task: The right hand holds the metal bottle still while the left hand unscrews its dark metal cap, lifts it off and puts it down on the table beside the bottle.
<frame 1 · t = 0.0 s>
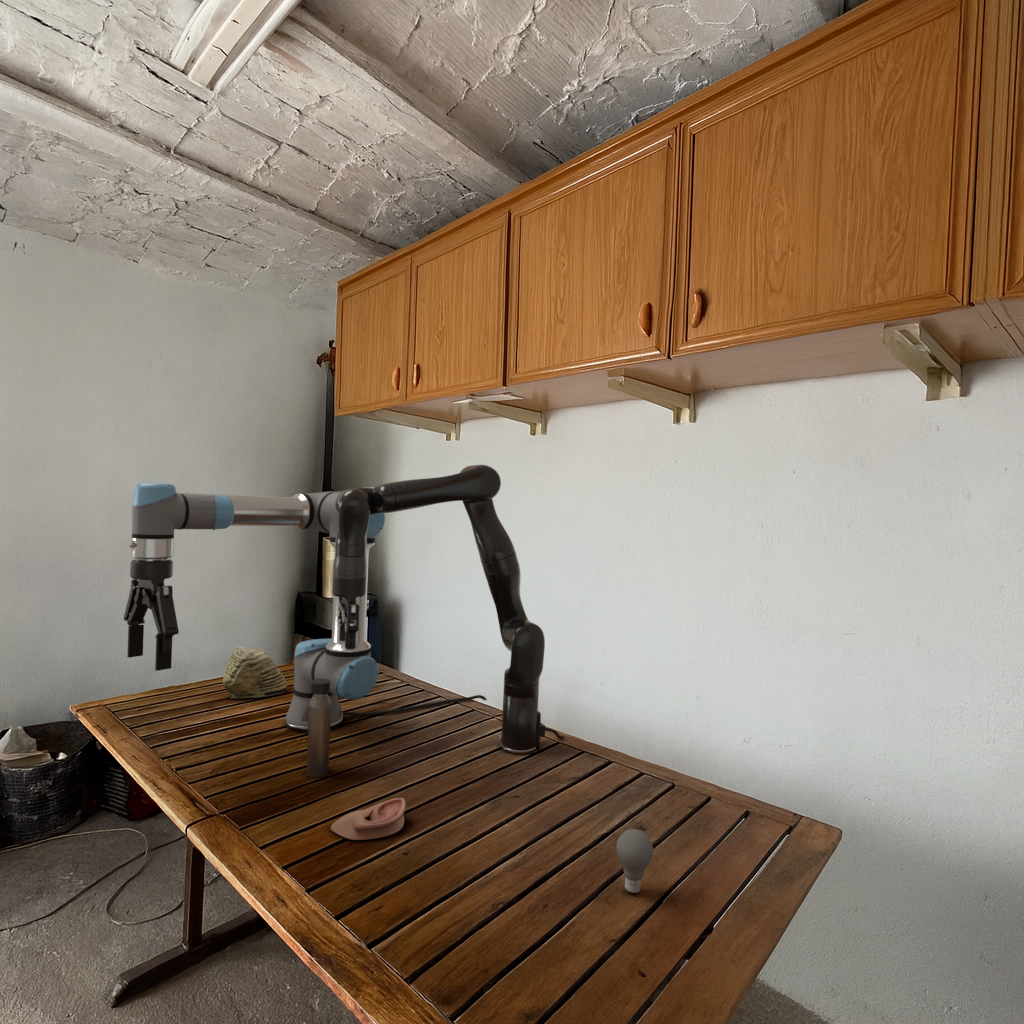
left hand: (148, 662, 129), 28 cm above the table, tool pointing down, fingers open, 13 cm apart
right hand: (347, 644, 147), 29 cm above the table, tool pointing down, fingers open, 8 cm apart
cap: (321, 682, 145), point 21 cm above the table, screwed on, not yet turned
bottle: (317, 772, 145), on the table
fossil: (254, 694, 198), on the table
anatomical model: (368, 826, 123), on the table
light bulb: (632, 891, 106), on the table
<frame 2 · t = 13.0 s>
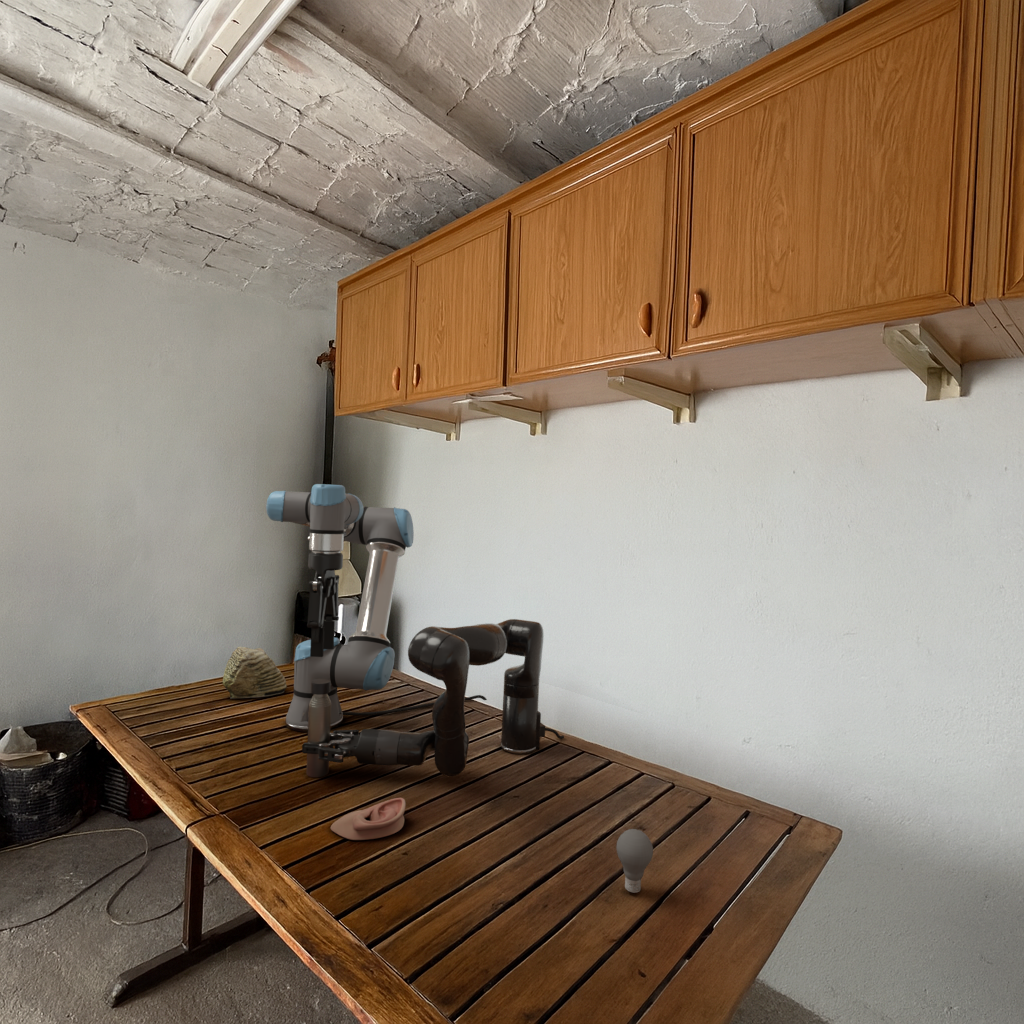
left hand: (322, 652, 145), 28 cm above the table, tool pointing down, fingers open, 6 cm apart
right hand: (307, 743, 145), 7 cm above the table, tool horizontal, fingers closed on bottle, 5 cm apart
bottle: (317, 772, 145), on the table, touching right hand
everything else where it was.
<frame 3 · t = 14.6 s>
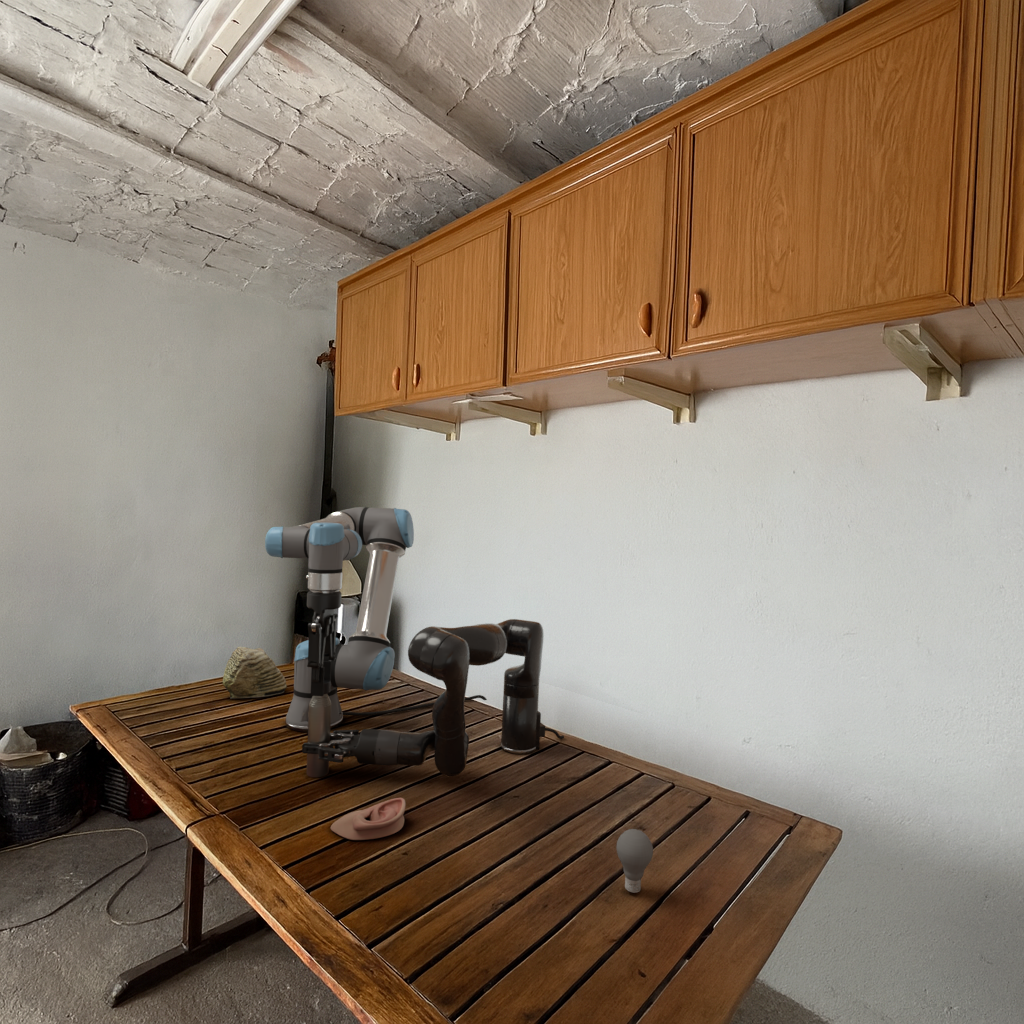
left hand: (320, 692, 145), 19 cm above the table, tool pointing down, fingers closed on cap, 4 cm apart
right hand: (307, 743, 145), 7 cm above the table, tool horizontal, fingers closed on bottle, 5 cm apart
cap: (321, 682, 145), point 21 cm above the table, screwed on, not yet turned, touching left hand
bottle: (317, 772, 145), on the table, touching right hand
everything else where it was.
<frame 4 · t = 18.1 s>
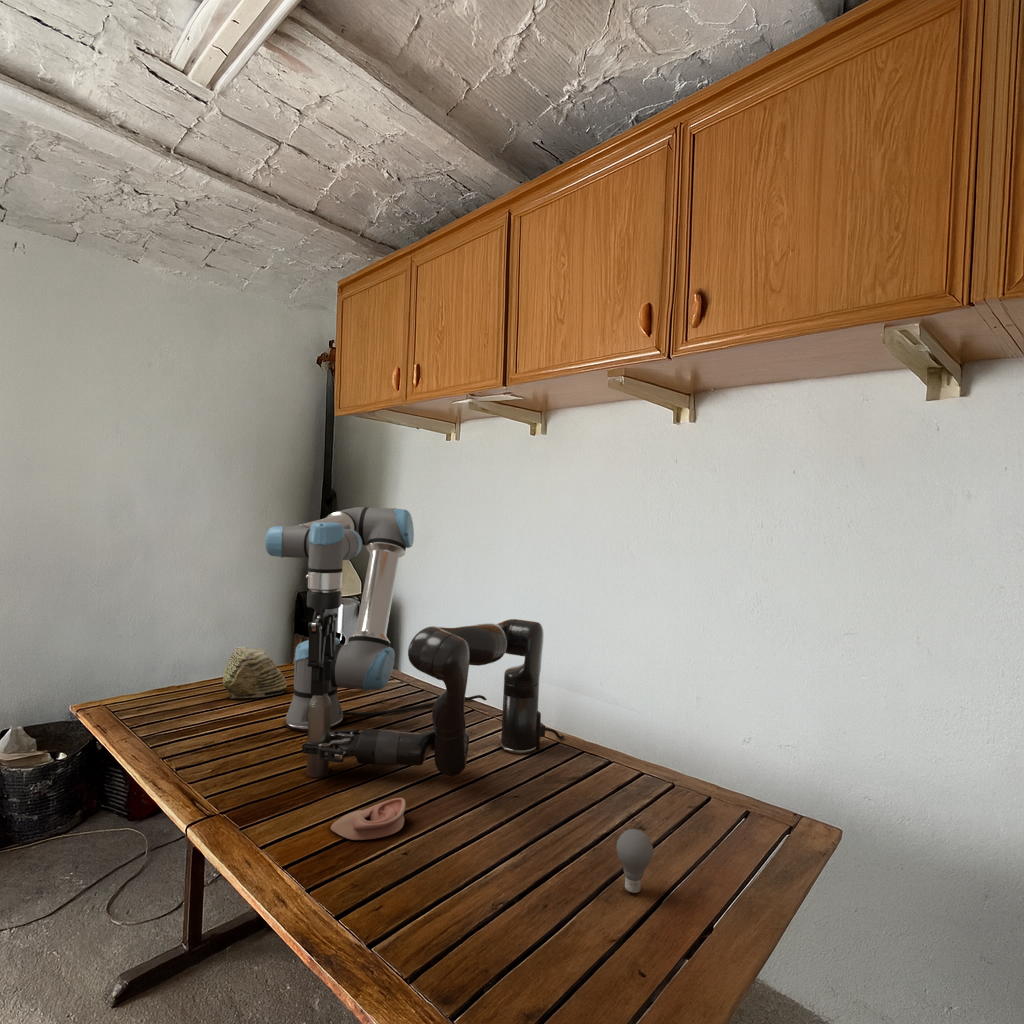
left hand: (320, 691, 145), 19 cm above the table, tool pointing down, fingers closed on cap, 4 cm apart
right hand: (307, 743, 145), 7 cm above the table, tool horizontal, fingers closed on bottle, 5 cm apart
cap: (321, 681, 145), point 21 cm above the table, turned 109° so far, risen 0.1 cm, still on its thread, touching left hand
bottle: (317, 772, 145), on the table, touching right hand
everything else where it was.
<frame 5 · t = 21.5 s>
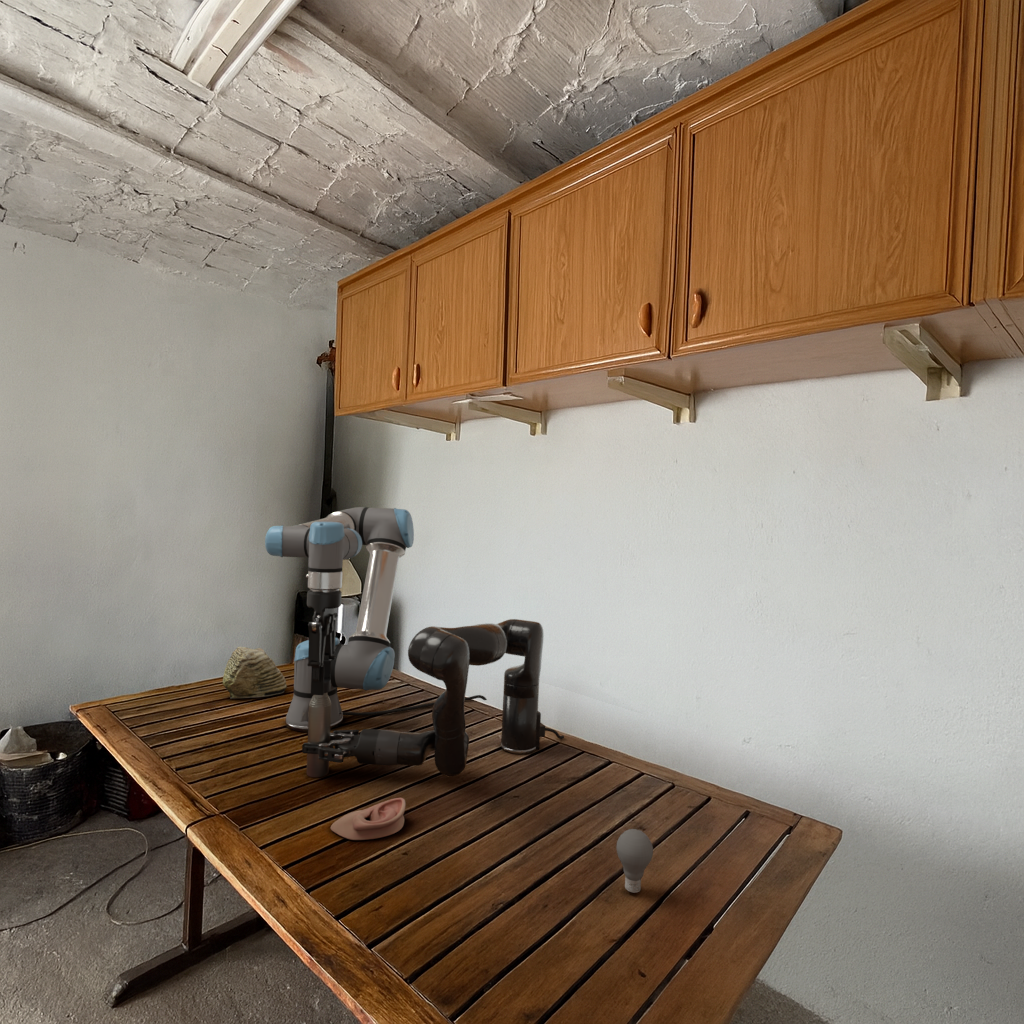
left hand: (320, 691, 145), 19 cm above the table, tool pointing down, fingers closed on cap, 4 cm apart
right hand: (307, 743, 145), 7 cm above the table, tool horizontal, fingers closed on bottle, 5 cm apart
cap: (321, 681, 145), point 21 cm above the table, turned 218° so far, risen 0.2 cm, still on its thread, touching left hand
bottle: (317, 772, 145), on the table, touching right hand
everything else where it was.
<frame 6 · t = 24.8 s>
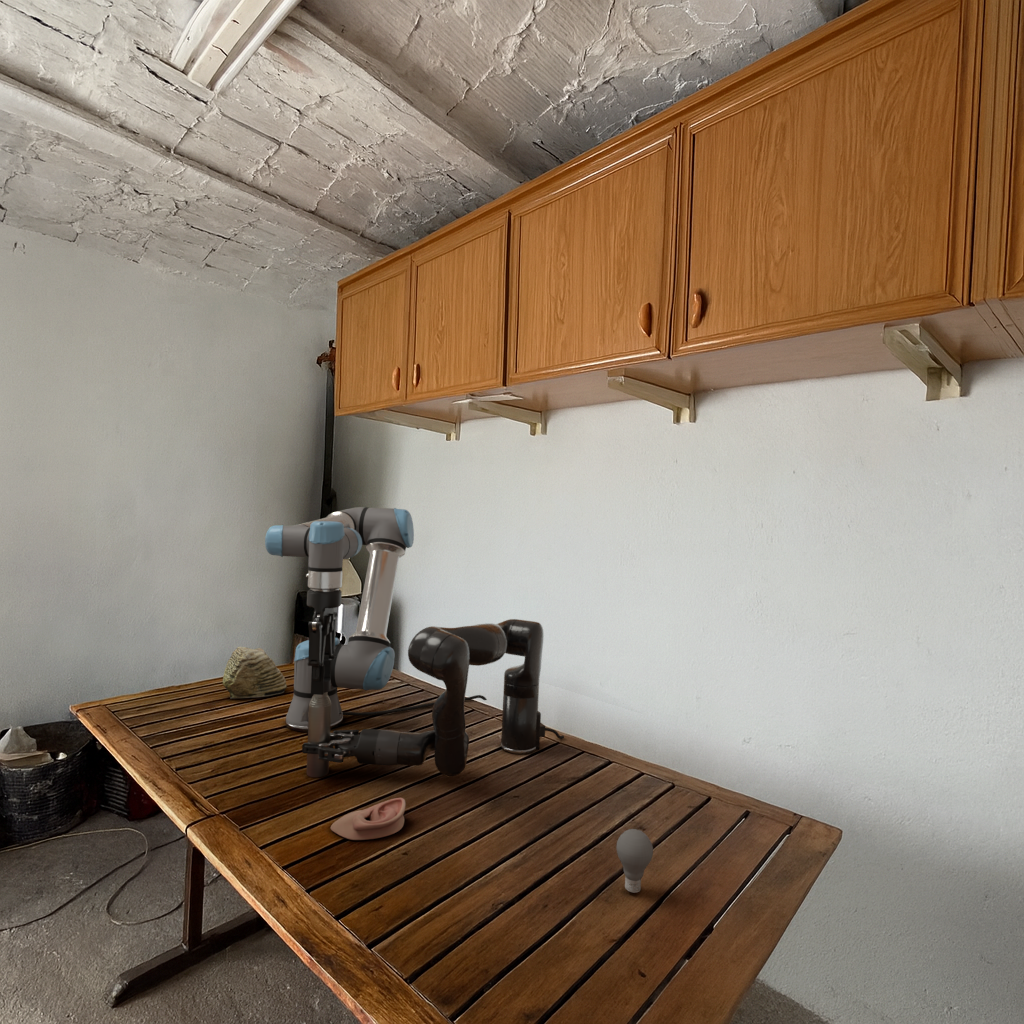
left hand: (320, 690, 145), 19 cm above the table, tool pointing down, fingers closed on cap, 4 cm apart
right hand: (307, 743, 145), 7 cm above the table, tool horizontal, fingers closed on bottle, 5 cm apart
cap: (321, 680, 145), point 21 cm above the table, turned 327° so far, risen 0.3 cm, still on its thread, touching left hand
bottle: (317, 772, 145), on the table, touching right hand
everything else where it was.
when the left hand's fingers open (1 cm above the table, at t = 32.1 s): cap drops 1 cm, point 2 cm above the table.
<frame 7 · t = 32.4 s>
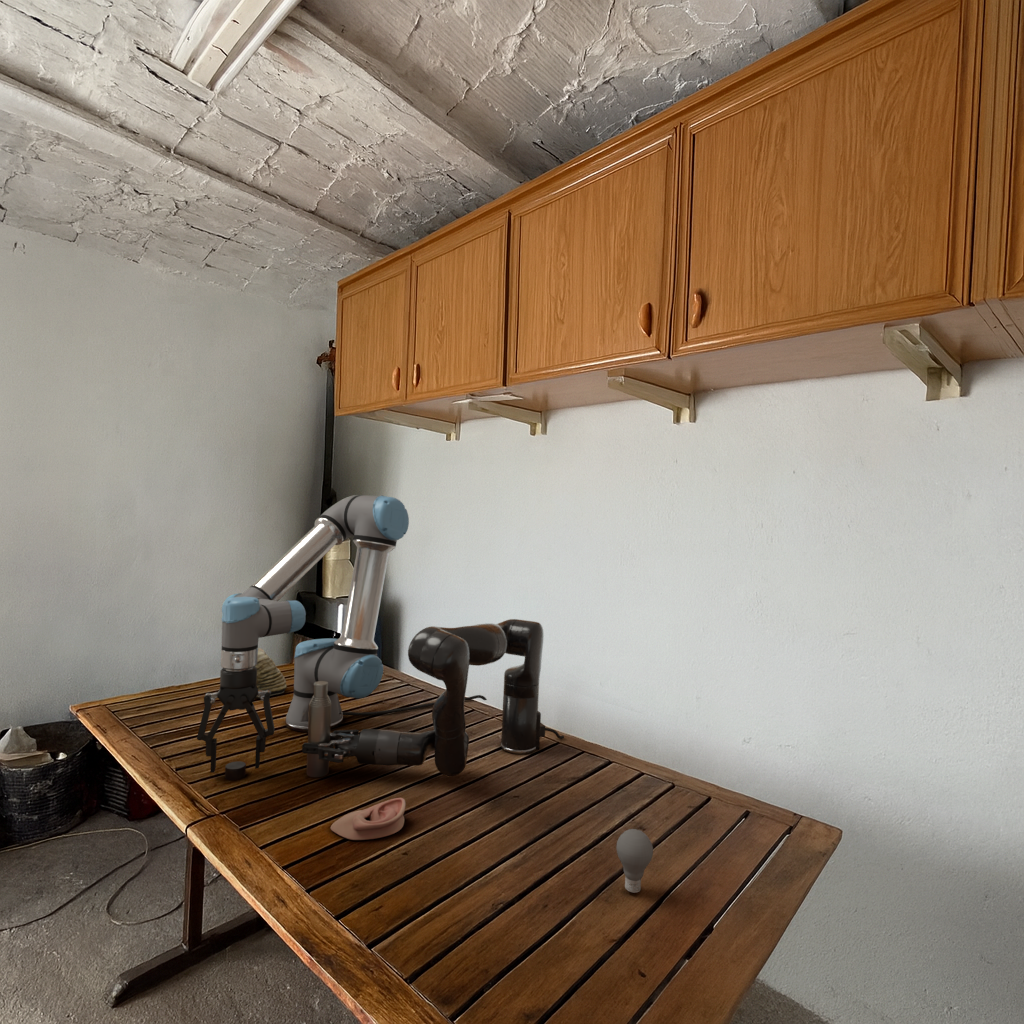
left hand: (235, 767, 142), 2 cm above the table, tool pointing down, fingers open, 8 cm apart
right hand: (307, 743, 145), 7 cm above the table, tool horizontal, fingers closed on bottle, 5 cm apart
cap: (235, 766, 142), point 2 cm above the table, off its thread
bottle: (317, 772, 145), on the table, touching right hand
everything else where it was.
when the right hand's fingers open (7 cm above the table, at t = 33.4 s): bottle stays where it is, on the table.
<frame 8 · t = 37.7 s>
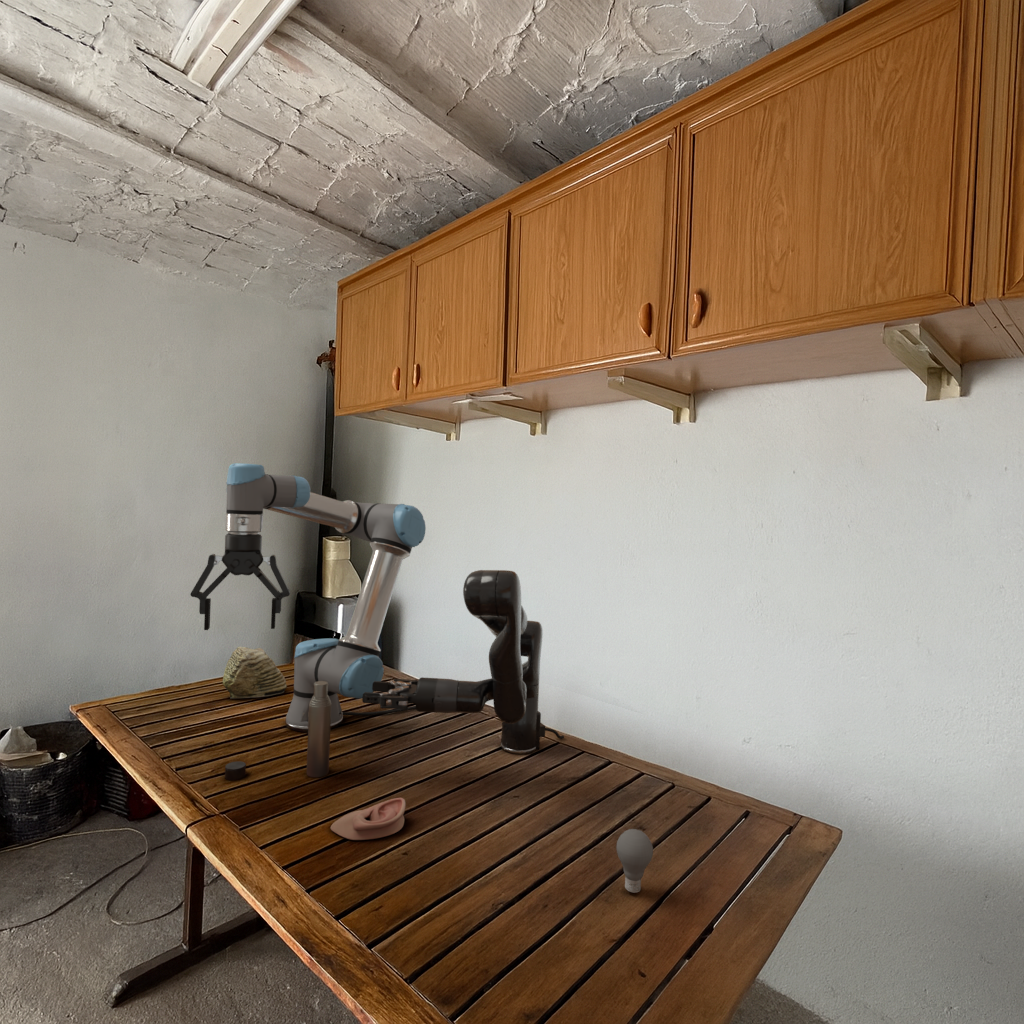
left hand: (240, 628, 141), 33 cm above the table, tool pointing down, fingers open, 13 cm apart
right hand: (368, 691, 145), 19 cm above the table, tool horizontal, fingers open, 8 cm apart
bottle: (317, 772, 145), on the table
everything else where it was.
at the end: cap came off its thread; cap point 2.2 cm above the table; the left hand is holding nothing; the right hand is holding nothing; bottle tilted 0°; bottle moved 0.0 cm from its start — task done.
